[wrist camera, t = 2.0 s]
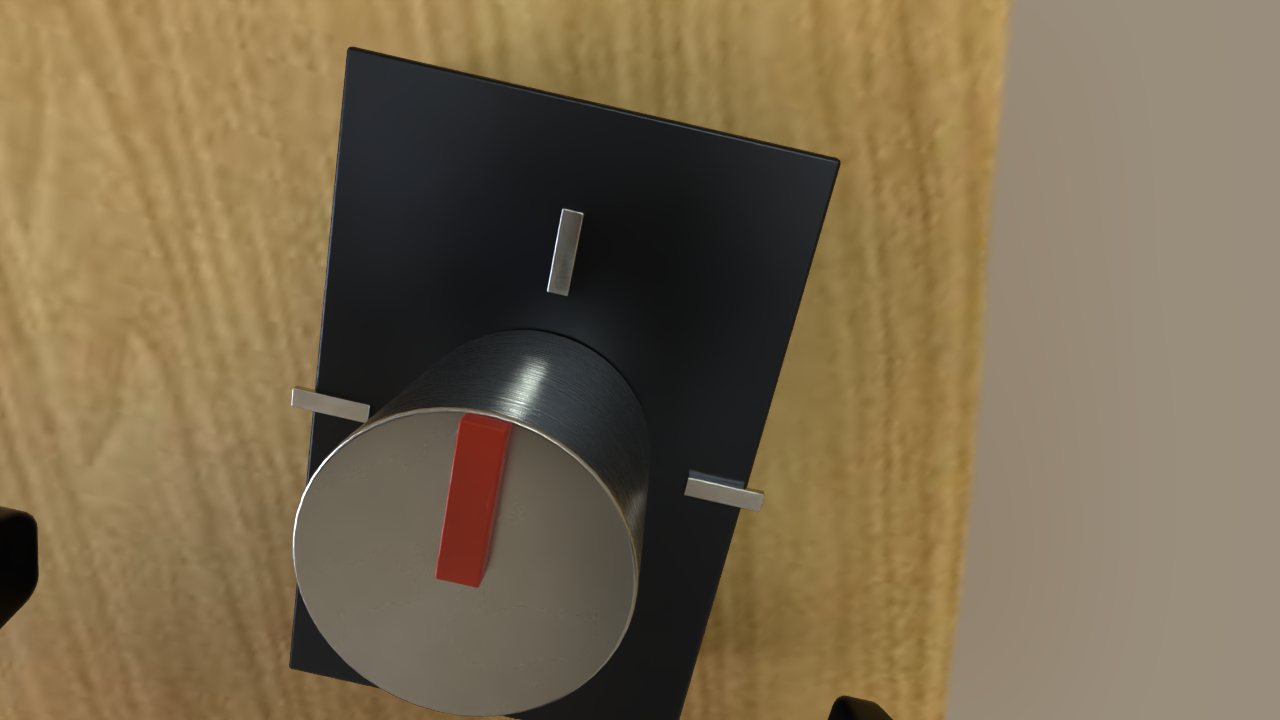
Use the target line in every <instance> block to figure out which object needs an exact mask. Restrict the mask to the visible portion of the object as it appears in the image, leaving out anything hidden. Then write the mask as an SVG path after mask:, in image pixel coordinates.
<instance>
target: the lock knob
mask: <svg viewBox="0 0 1280 720" xmlns="http://www.w3.org/2000/svg"><path fill="white" fill-rule="evenodd" d="M650 461H651V444H650V435H649V429H648V426H647V422H646V418H645V415H644V413H643V410H642V408H641V405H640V403H639V401H638V399H637V397H636V396H635V394H634V392H633V391H632V389H631V387H630V386H629V385H628V383H627V382H626V381H625V380H624V378H623V377H622V376H621V375H620V374H619V373H618V372H617V371H616V370H615V369H614V368H613V366H612V365H611V364H609V363H608V362H607V361H606V360H604V359H603V358H602V357H601V356H599V355H598V354H597V353H595V352H593V351H592V350H590V349H588V348H587V347H585V346H583V345H581V344H579V343H577V342H575V341H572V340H570V339H568V338H565V337H561V336H558V335H555V334H551V333H546V332H540V331H534V330H511V331H501V332H496V333H492V334H488V335H484V336H481V337H479V338H476V339H473V340H471V341H468V342H467V343H465V344H463V345H461V346H459V347H457V348H456V349H454V350H453V351H452V352H450V353H449V354H448V355H446V356H445V357H444V358H442V359H441V360H440V361H439V362H438V363H436V364H435V365H434V366H433V367H431V368H430V369H429V370H428V371H427V372H425V373H424V374H423V375H422V376H421V377H419V378H418V379H417V380H416V381H415V382H413V383H412V384H411V385H410V386H409V387H407V388H406V389H405V390H404V391H403V392H401V393H400V394H399V395H398V396H397V397H395V398H394V399H393V400H392V401H391V402H389V403H388V404H387V405H386V406H384V407H383V408H382V409H381V410H380V411H378V412H377V413H376V414H375V415H374V416H372V417H371V418H370V419H369V420H368V421H366V422H365V423H364V424H363V425H362V426H360V427H359V428H358V429H357V430H356V431H354V432H353V433H352V434H351V435H350V436H348V437H347V438H346V439H345V440H344V441H342V442H341V443H340V444H339V445H338V446H337V447H336V448H335V449H334V450H333V451H332V452H331V453H330V454H329V455H328V456H327V457H326V458H325V459H324V460H323V461H322V463H321V464H320V466H319V467H318V468H317V470H316V471H315V472H314V474H313V475H312V477H311V479H310V481H309V483H308V485H307V487H306V489H305V491H304V492H303V495H302V498H301V501H300V504H299V507H298V510H297V513H296V519H295V525H294V531H293V554H292V555H293V562H294V570H295V576H296V580H297V583H298V587H299V591H300V594H301V597H302V599H303V601H304V604H305V606H306V608H307V611H308V613H309V615H310V617H311V618H312V620H313V622H314V623H315V625H316V627H317V629H318V630H319V632H320V633H321V634H322V636H323V637H324V638H325V640H326V641H327V642H328V644H329V645H330V646H331V648H332V649H333V650H334V651H335V652H336V653H337V654H338V655H339V656H340V657H341V658H342V659H343V660H344V661H345V662H346V663H347V664H348V665H349V666H350V667H352V668H353V669H354V670H355V671H356V672H358V673H359V674H360V675H361V676H362V677H364V678H365V679H367V680H368V681H370V682H371V683H373V684H374V685H376V686H377V687H379V688H380V689H382V690H384V691H386V692H388V693H390V694H392V695H394V696H396V697H398V698H400V699H402V700H405V701H407V702H410V703H412V704H415V705H417V706H420V707H424V708H427V709H431V710H435V711H438V712H443V713H449V714H455V715H462V716H479V717H484V716H503V715H509V714H515V713H521V712H525V711H529V710H532V709H536V708H539V707H542V706H545V705H547V704H549V703H552V702H554V701H557V700H559V699H561V698H563V697H564V696H566V695H568V694H570V693H571V692H573V691H575V690H576V689H578V688H579V687H581V686H582V685H583V684H584V683H586V682H587V681H588V680H589V679H591V678H592V677H593V676H594V675H595V674H596V673H597V672H598V671H599V670H600V669H601V668H602V667H603V666H604V665H605V664H606V663H607V662H608V661H609V659H610V658H611V656H612V655H613V654H614V652H615V651H616V649H617V648H618V647H619V645H620V643H621V641H622V639H623V637H624V636H625V634H626V632H627V630H628V628H629V625H630V622H631V619H632V616H633V613H634V610H635V605H636V599H637V593H638V586H639V575H640V565H641V555H642V544H643V534H644V524H645V513H646V503H647V493H648V482H649V472H650Z"/></svg>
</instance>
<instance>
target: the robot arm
mask: <svg viewBox="0 0 1280 720" xmlns="http://www.w3.org/2000/svg"><path fill="white" fill-rule="evenodd" d="M38 577H39V567H38V527H37V522H36V521H35V519H34V517H33V516H32V515H30V514H29V513H27V512H24V511H19V510H15V509H10V508H6V507H2V506H0V629H1V628H2V627H3V626H4V625H5V624H6V623H7V622H8V620H9V619H10V618H11V617H12V616H13V615H14V614H15V613H16V612H17V611H18V610H19V609H20V608H21V607H22V606H23V605H24V604H25V603H26V602H27V601H28V600H29V598H30V597H31V595H32V594H33V592H34V590H35V588H36V586H37V582H38ZM828 720H892V718H891V717H890V716H889V715H888V714H887V713H886V712H885V711H884V710H883V709H882V708H881V707H880V706H879V705H878V704H876V703H874V702H872V701H868V700H863V699H859V698H854V697H850V696H841V697H839V698H837V700H836V701H835V702H834V704H833V706H832V709H831V712H830V715H829V717H828Z"/></svg>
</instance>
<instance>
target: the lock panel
mask: <svg viewBox="0 0 1280 720" xmlns="http://www.w3.org/2000/svg"><path fill="white" fill-rule="evenodd" d="M839 168H840V160H839V159H838V158H835V157H830V156H826V155H821V154H817V153H813V152H808V151H804V150H800V149H795V148H791V147H787V146H782V145H778V144H774V143H769V142H765V141H761V140H756V139H752V138H748V137H743V136H739V135H735V134H730V133H726V132H722V131H717V130H713V129H709V128H704V127H700V126H696V125H691V124H687V123H683V122H678V121H674V120H669V119H665V118H661V117H656V116H652V115H648V114H643V113H639V112H635V111H630V110H626V109H622V108H617V107H613V106H609V105H604V104H600V103H596V102H591V101H587V100H583V99H578V98H574V97H570V96H565V95H561V94H557V93H552V92H548V91H544V90H539V89H535V88H531V87H526V86H522V85H517V84H513V83H509V82H504V81H500V80H496V79H491V78H487V77H483V76H478V75H474V74H470V73H465V72H461V71H457V70H452V69H448V68H444V67H439V66H435V65H431V64H426V63H422V62H418V61H413V60H409V59H405V58H400V57H396V56H392V55H387V54H383V53H379V52H374V51H370V50H365V49H361V48H357V47H349V48H348V50H347V58H346V69H345V79H344V90H343V101H342V111H341V122H340V132H339V143H338V154H337V164H336V175H335V185H334V196H333V207H332V217H331V228H330V238H329V249H328V260H327V270H326V281H325V291H324V302H323V313H322V323H321V334H320V344H319V355H318V366H317V376H316V387H315V390H314V389H310V388H305V387H301V386H296V387H294V388H293V391H292V403H291V406H292V407H297V408H301V409H306V410H310V411H313V419H312V429H311V440H310V450H309V461H308V472H307V482H306V487H307V485H308V483H309V481H310V479H311V477H312V475H313V474H314V472H315V471H316V470H317V468H318V467H319V466H320V464H321V463H322V461H323V460H324V459H325V458H326V457H327V456H328V455H329V454H330V453H331V452H332V451H333V450H334V449H335V448H336V447H337V446H338V445H339V444H340V443H341V442H342V441H344V440H345V439H346V438H347V437H348V436H350V435H351V434H352V433H353V432H354V431H356V430H357V429H358V428H359V427H360V426H362V425H363V424H364V423H365V422H366V421H368V420H369V419H370V418H371V417H372V416H374V415H375V414H376V413H377V412H378V411H380V410H381V409H382V408H383V407H384V406H386V405H387V404H388V403H389V402H391V401H392V400H393V399H394V398H395V397H397V396H398V395H399V394H400V393H401V392H403V391H404V390H405V389H406V388H407V387H409V386H410V385H411V384H412V383H413V382H415V381H416V380H417V379H418V378H419V377H421V376H422V375H423V374H424V373H425V372H427V371H428V370H429V369H430V368H431V367H433V366H434V365H435V364H436V363H438V362H439V361H440V360H441V359H442V358H444V357H445V356H446V355H448V354H449V353H450V352H452V351H453V350H454V349H456V348H457V347H459V346H461V345H463V344H465V343H467V342H468V341H471V340H473V339H476V338H479V337H481V336H484V335H488V334H492V333H496V332H501V331H511V330H534V331H540V332H546V333H551V334H555V335H558V336H561V337H565V338H568V339H570V340H572V341H575V342H577V343H579V344H581V345H583V346H585V347H587V348H588V349H590V350H592V351H593V352H595V353H597V354H598V355H599V356H601V357H602V358H603V359H604V360H606V361H607V362H608V363H609V364H611V365H612V366H613V368H614V369H615V370H616V371H617V372H618V373H619V374H620V375H621V376H622V377H623V378H624V380H625V381H626V382H627V383H628V385H629V386H630V387H631V389H632V391H633V392H634V394H635V396H636V397H637V399H638V401H639V403H640V405H641V408H642V410H643V413H644V415H645V418H646V422H647V426H648V429H649V435H650V444H651V461H650V472H649V482H648V493H647V503H646V513H645V524H644V534H643V544H642V555H641V565H640V575H639V586H638V593H637V599H636V605H635V610H634V613H633V616H632V619H631V622H630V625H629V628H628V630H627V632H626V634H625V636H624V637H623V639H622V641H621V643H620V645H619V647H618V648H617V649H616V651H615V652H614V654H613V655H612V656H611V658H610V659H609V661H608V662H607V663H606V664H605V665H604V666H603V667H602V668H601V669H600V670H599V671H598V672H597V673H596V674H595V675H594V676H593V677H592V678H591V679H589V680H588V681H587V682H586V683H584V684H583V685H582V686H581V687H579V688H578V689H576V690H575V691H573V692H571V693H570V694H568V695H566V696H564V697H563V698H561V699H559V700H557V701H554V702H552V703H549V704H547V705H545V706H542V707H539V708H536V709H532V710H529V711H525V712H521V713H515V714H509V715H503V716H506V717H510V718H515V719H519V720H679V719H680V716H681V712H682V709H683V705H684V702H685V698H686V695H687V692H688V688H689V685H690V681H691V678H692V674H693V671H694V667H695V664H696V661H697V657H698V654H699V650H700V647H701V643H702V640H703V636H704V633H705V630H706V626H707V623H708V619H709V616H710V612H711V609H712V605H713V602H714V599H715V595H716V592H717V588H718V585H719V581H720V578H721V574H722V571H723V568H724V564H725V561H726V557H727V554H728V550H729V547H730V543H731V540H732V537H733V533H734V530H735V526H736V523H737V519H738V516H739V512H740V509H741V508H743V509H748V510H752V511H757V512H760V509H761V506H762V502H763V499H764V496H765V495H764V491H760V490H756V489H752V488H747V485H748V481H749V478H750V475H751V471H752V468H753V464H754V461H755V457H756V454H757V450H758V447H759V444H760V440H761V437H762V433H763V430H764V426H765V423H766V419H767V416H768V413H769V409H770V406H771V402H772V399H773V395H774V392H775V388H776V385H777V382H778V378H779V375H780V371H781V368H782V364H783V361H784V357H785V354H786V351H787V347H788V344H789V340H790V337H791V333H792V330H793V326H794V323H795V320H796V316H797V313H798V309H799V306H800V302H801V299H802V295H803V292H804V288H805V285H806V282H807V278H808V275H809V271H810V268H811V264H812V261H813V257H814V254H815V251H816V247H817V244H818V240H819V237H820V233H821V230H822V226H823V223H824V220H825V216H826V213H827V209H828V206H829V202H830V199H831V195H832V192H833V189H834V185H835V182H836V178H837V175H838V171H839ZM289 667H290V668H291V669H295V670H300V671H304V672H309V673H313V674H318V675H322V676H327V677H331V678H336V679H340V680H345V681H349V682H354V683H358V684H363V685H367V686H372V687H376V688H379V687H377V686H376V685H374V684H373V683H371V682H370V681H368V680H367V679H365V678H364V677H362V676H361V675H360V674H359V673H358V672H356V671H355V670H354V669H353V668H352V667H350V666H349V665H348V664H347V663H346V662H345V661H344V660H343V659H342V658H341V657H340V656H339V655H338V654H337V653H336V652H335V651H334V650H333V649H332V648H331V646H330V645H329V644H328V642H327V641H326V640H325V638H324V637H323V636H322V634H321V633H320V632H319V630H318V629H317V627H316V625H315V623H314V622H313V620H312V618H311V617H310V615H309V613H308V611H307V608H306V606H305V604H304V601H303V599H302V597H301V594H300V591H299V587H298V583H297V588H296V599H295V609H294V620H293V631H292V641H291V652H290V662H289Z"/></svg>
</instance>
